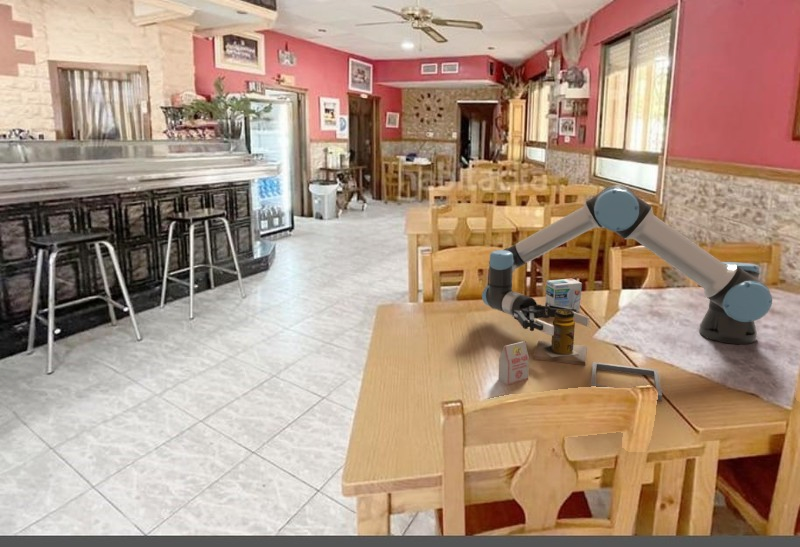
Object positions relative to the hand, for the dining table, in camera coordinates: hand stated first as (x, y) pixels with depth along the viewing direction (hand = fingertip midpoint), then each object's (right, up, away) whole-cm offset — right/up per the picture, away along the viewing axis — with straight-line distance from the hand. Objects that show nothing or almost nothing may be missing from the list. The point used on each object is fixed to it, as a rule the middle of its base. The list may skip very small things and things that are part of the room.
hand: (571, 326), depth 151 cm
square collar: (+9, -13, -13) cm, 21 cm away
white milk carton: (-18, -13, -10) cm, 25 cm away
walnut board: (-1, -9, +5) cm, 10 cm away
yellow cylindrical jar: (-2, -8, +5) cm, 9 cm away
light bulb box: (+11, +1, +43) cm, 45 cm away
